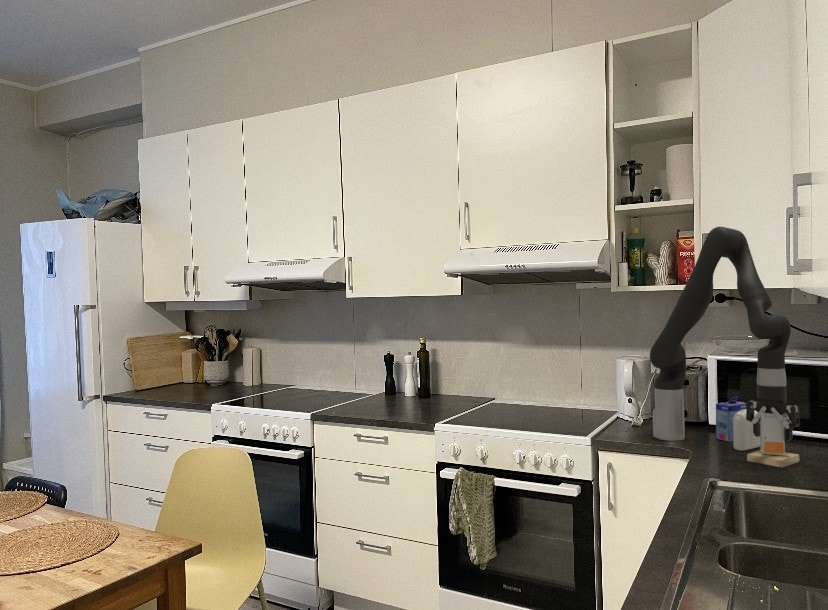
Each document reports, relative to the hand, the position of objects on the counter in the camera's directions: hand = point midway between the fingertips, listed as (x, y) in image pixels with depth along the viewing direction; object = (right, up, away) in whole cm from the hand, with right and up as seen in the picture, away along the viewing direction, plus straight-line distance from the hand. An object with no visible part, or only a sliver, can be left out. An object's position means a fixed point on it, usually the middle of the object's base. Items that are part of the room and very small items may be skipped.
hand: (772, 438), depth 192 cm
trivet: (0, -7, 0) cm, 7 cm away
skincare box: (0, -5, 0) cm, 4 cm away
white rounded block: (+1, -7, +16) cm, 18 cm away
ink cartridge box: (+3, -6, +30) cm, 31 cm away
